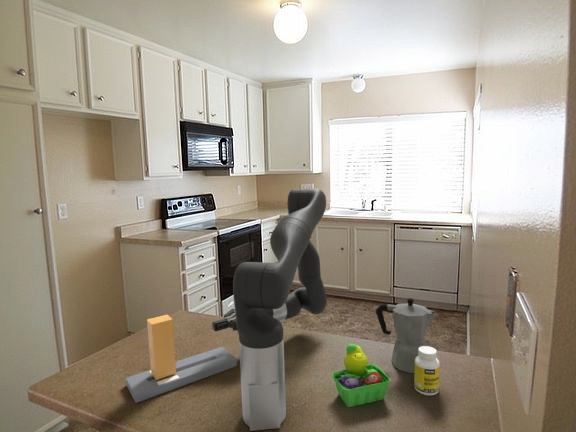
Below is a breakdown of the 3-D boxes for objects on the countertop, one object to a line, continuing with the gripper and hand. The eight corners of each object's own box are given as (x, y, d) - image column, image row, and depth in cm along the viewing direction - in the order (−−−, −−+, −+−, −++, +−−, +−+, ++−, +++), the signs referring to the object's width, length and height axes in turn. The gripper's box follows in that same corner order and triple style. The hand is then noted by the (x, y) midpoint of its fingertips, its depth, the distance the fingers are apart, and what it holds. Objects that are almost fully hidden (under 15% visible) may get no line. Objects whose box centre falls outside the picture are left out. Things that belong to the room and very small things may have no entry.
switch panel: (222, 353, 108) (221, 346, 108) (237, 365, 101) (236, 358, 100) (126, 385, 93) (125, 377, 92) (135, 403, 85) (135, 394, 85)
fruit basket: (345, 412, 80) (344, 362, 79) (329, 389, 89) (328, 344, 87) (392, 402, 83) (392, 353, 82) (372, 380, 92) (372, 337, 90)
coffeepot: (437, 360, 101) (438, 295, 98) (435, 378, 92) (437, 307, 90) (378, 350, 107) (379, 289, 104) (372, 366, 98) (372, 300, 96)
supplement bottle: (423, 398, 84) (424, 357, 83) (409, 385, 89) (410, 346, 88) (444, 393, 86) (445, 353, 84) (429, 381, 91) (429, 342, 90)
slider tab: (170, 366, 96) (167, 314, 95) (176, 373, 93) (172, 319, 92) (151, 373, 94) (146, 319, 92) (155, 380, 90) (151, 324, 89)
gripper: (255, 294, 115) (202, 306, 105) (280, 305, 105) (223, 320, 94) (256, 317, 116) (203, 332, 106) (280, 331, 105) (225, 349, 95)
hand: (213, 327), depth 100 cm, fingers closed
